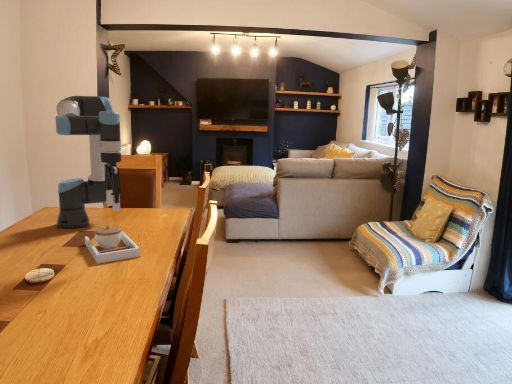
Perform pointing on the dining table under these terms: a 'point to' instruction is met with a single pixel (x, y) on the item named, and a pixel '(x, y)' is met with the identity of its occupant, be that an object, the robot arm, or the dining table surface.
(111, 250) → the tray
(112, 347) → the dining table surface
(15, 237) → the dining table surface
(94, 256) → the channel
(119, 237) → the lidded jar
